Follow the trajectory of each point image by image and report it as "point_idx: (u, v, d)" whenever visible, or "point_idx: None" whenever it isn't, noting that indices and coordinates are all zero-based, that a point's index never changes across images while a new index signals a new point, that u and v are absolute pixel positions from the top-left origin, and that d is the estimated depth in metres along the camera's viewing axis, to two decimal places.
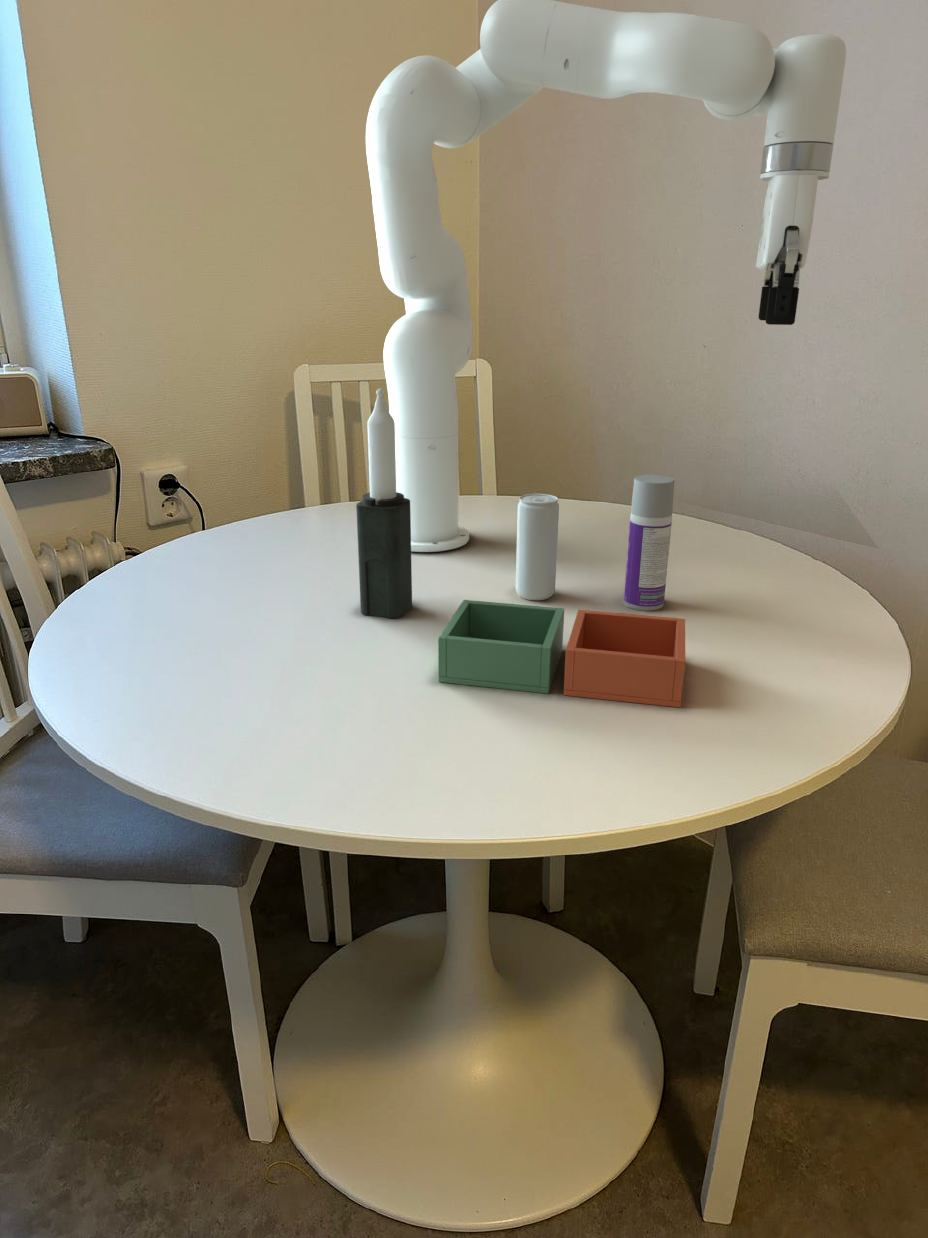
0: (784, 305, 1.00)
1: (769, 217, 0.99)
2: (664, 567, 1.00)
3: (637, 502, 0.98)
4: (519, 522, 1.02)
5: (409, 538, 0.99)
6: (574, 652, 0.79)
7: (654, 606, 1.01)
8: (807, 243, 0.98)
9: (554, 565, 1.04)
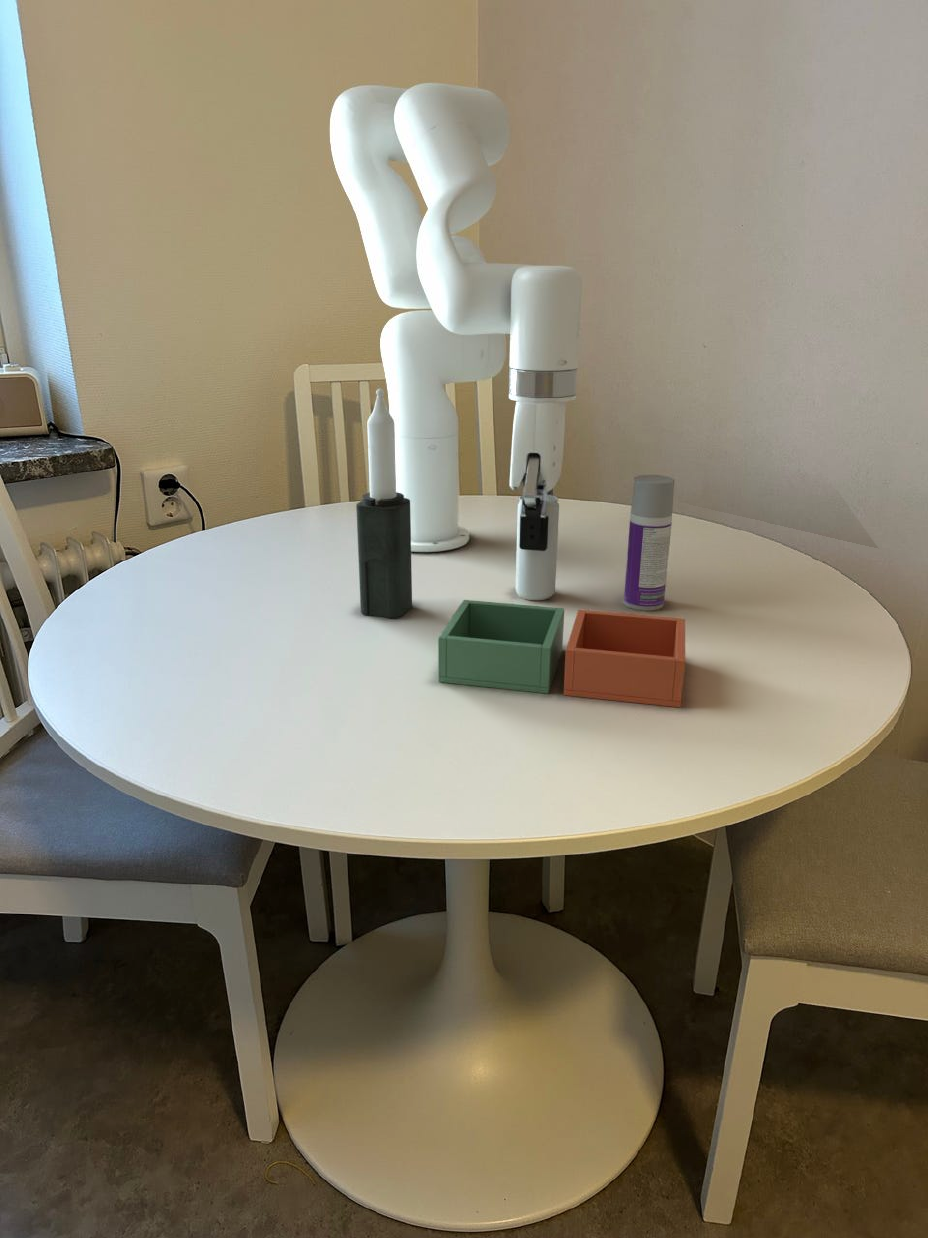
0: (534, 534, 1.00)
1: (512, 442, 0.96)
2: (664, 567, 1.00)
3: (637, 502, 0.98)
4: (519, 522, 1.02)
5: (409, 537, 0.99)
6: (574, 652, 0.79)
7: (654, 606, 1.01)
8: (550, 470, 0.95)
9: (554, 565, 1.04)
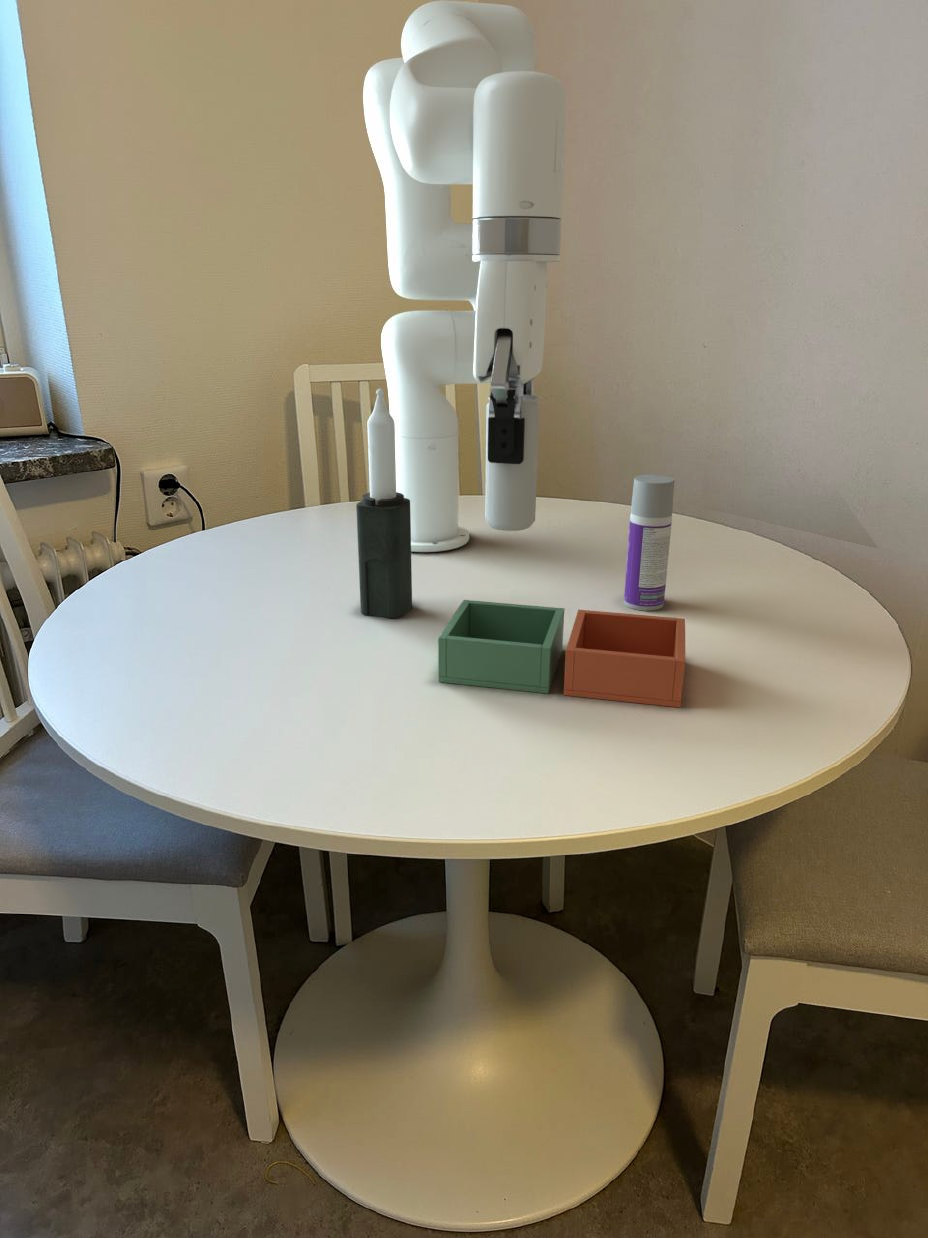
0: (506, 441, 0.77)
1: (476, 316, 0.73)
2: (664, 567, 1.00)
3: (637, 502, 0.98)
4: None
5: (409, 537, 0.99)
6: (574, 652, 0.79)
7: (654, 606, 1.01)
8: (525, 351, 0.73)
9: (534, 485, 0.81)
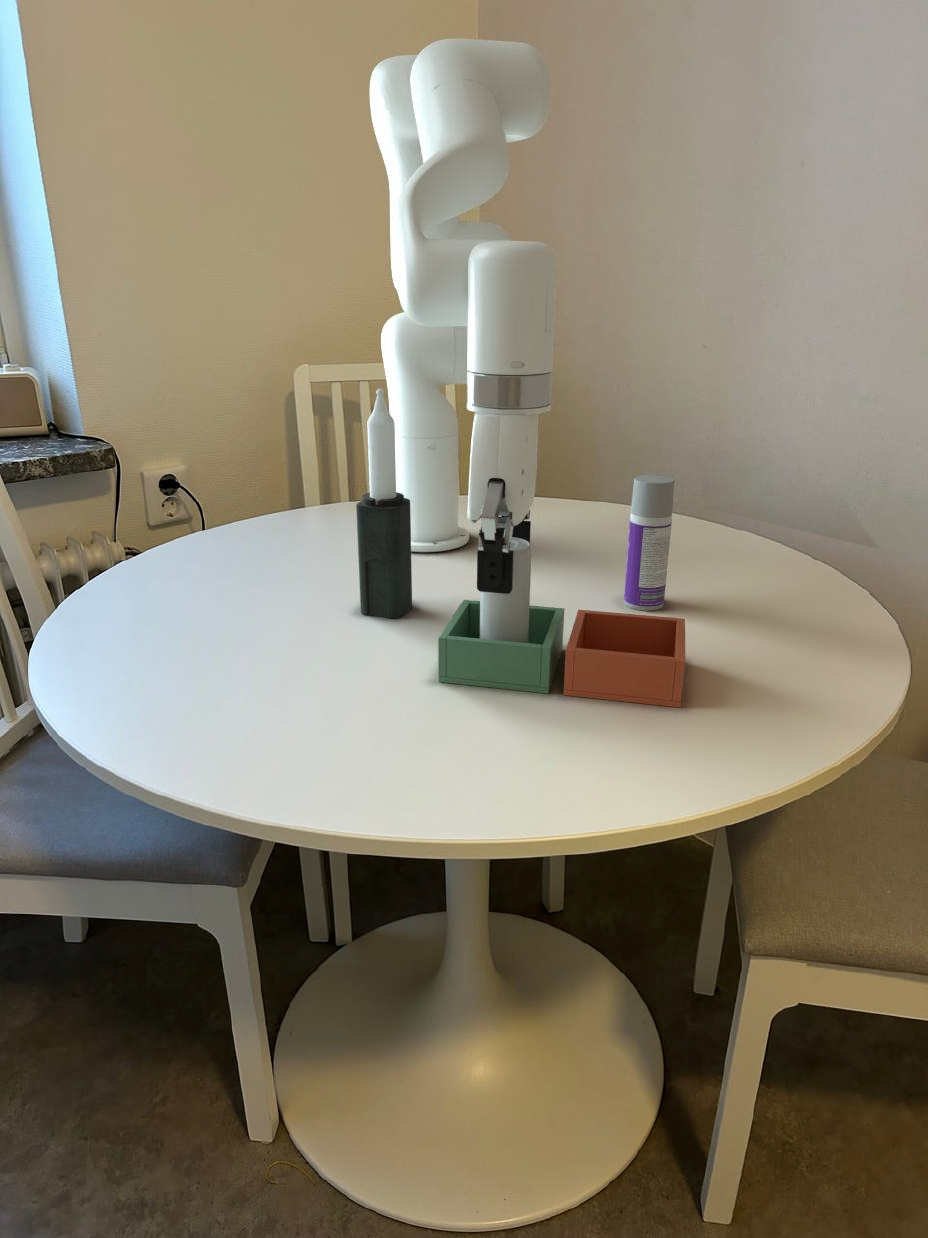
0: (494, 573, 0.78)
1: (470, 464, 0.76)
2: (664, 567, 1.00)
3: (637, 502, 0.98)
4: None
5: (409, 537, 0.99)
6: (574, 652, 0.79)
7: (654, 606, 1.01)
8: (517, 499, 0.76)
9: (526, 625, 0.85)
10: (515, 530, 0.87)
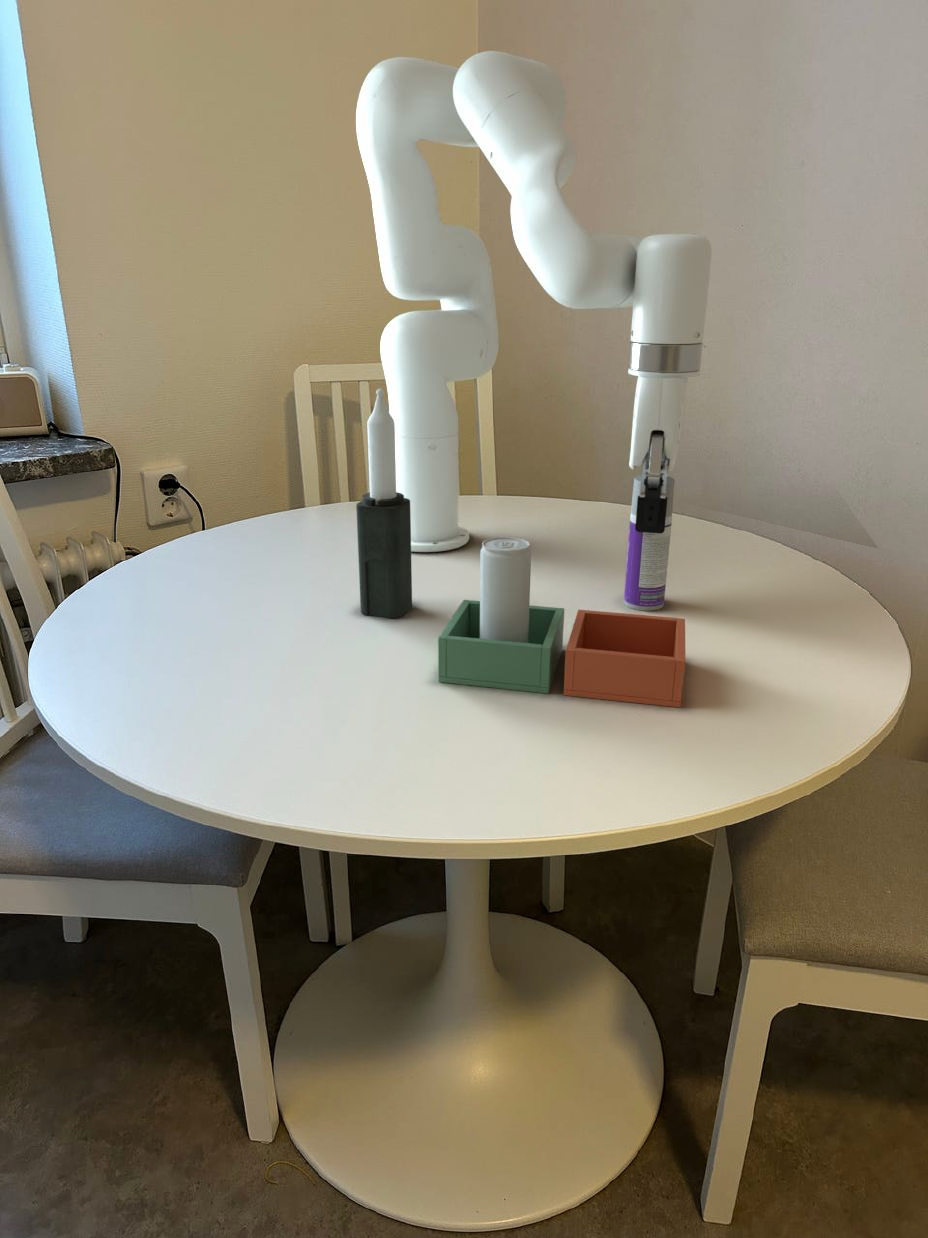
0: (652, 515, 0.96)
1: (634, 419, 0.92)
2: (664, 567, 1.00)
3: None
4: (482, 573, 0.83)
5: (409, 537, 0.99)
6: (574, 652, 0.79)
7: (654, 606, 1.01)
8: (674, 448, 0.92)
9: (526, 625, 0.85)
10: None
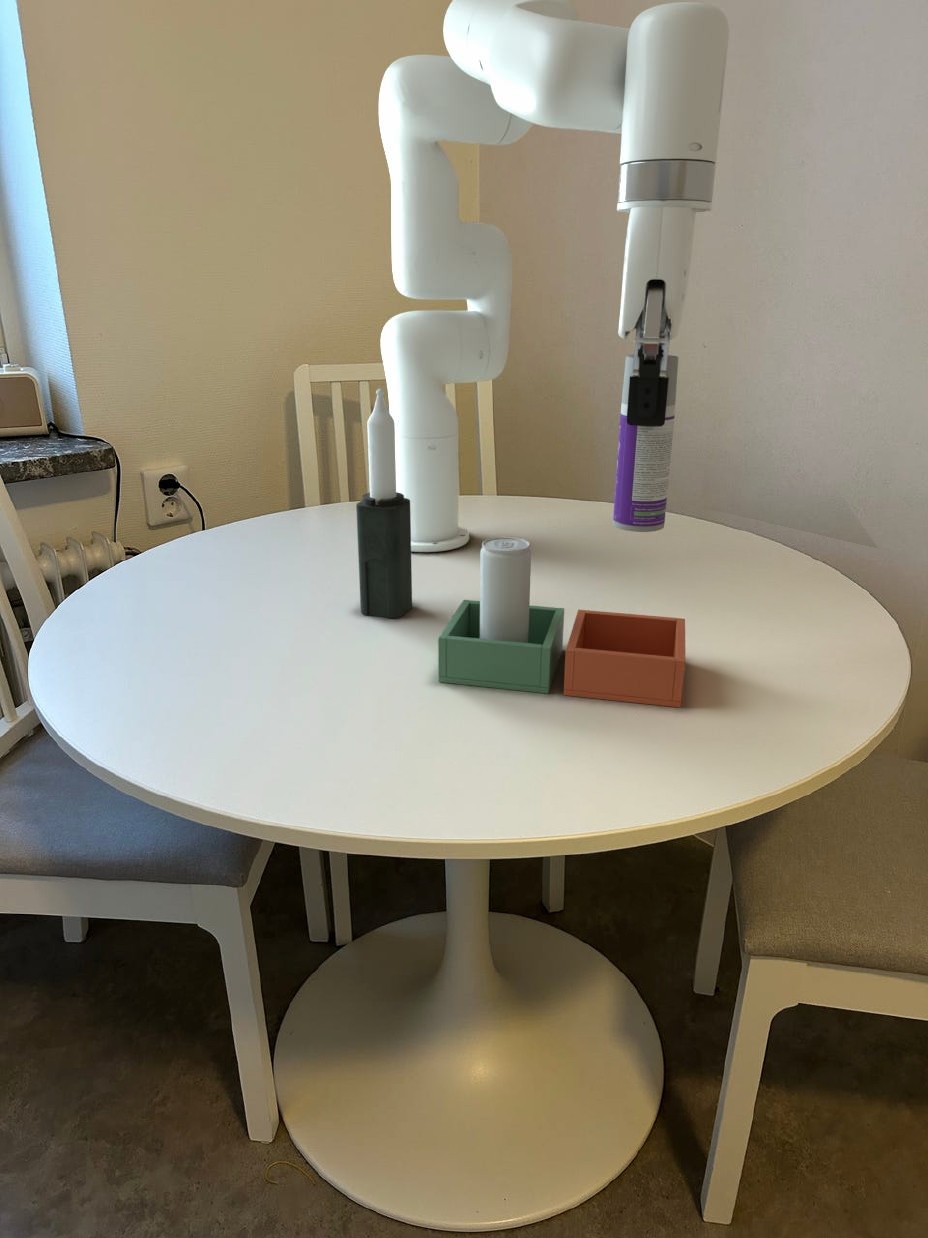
0: (649, 401, 0.73)
1: (625, 267, 0.69)
2: (665, 474, 0.77)
3: None
4: (482, 573, 0.83)
5: (409, 537, 0.99)
6: (574, 652, 0.79)
7: (652, 526, 0.79)
8: (678, 304, 0.69)
9: (526, 625, 0.85)
10: None
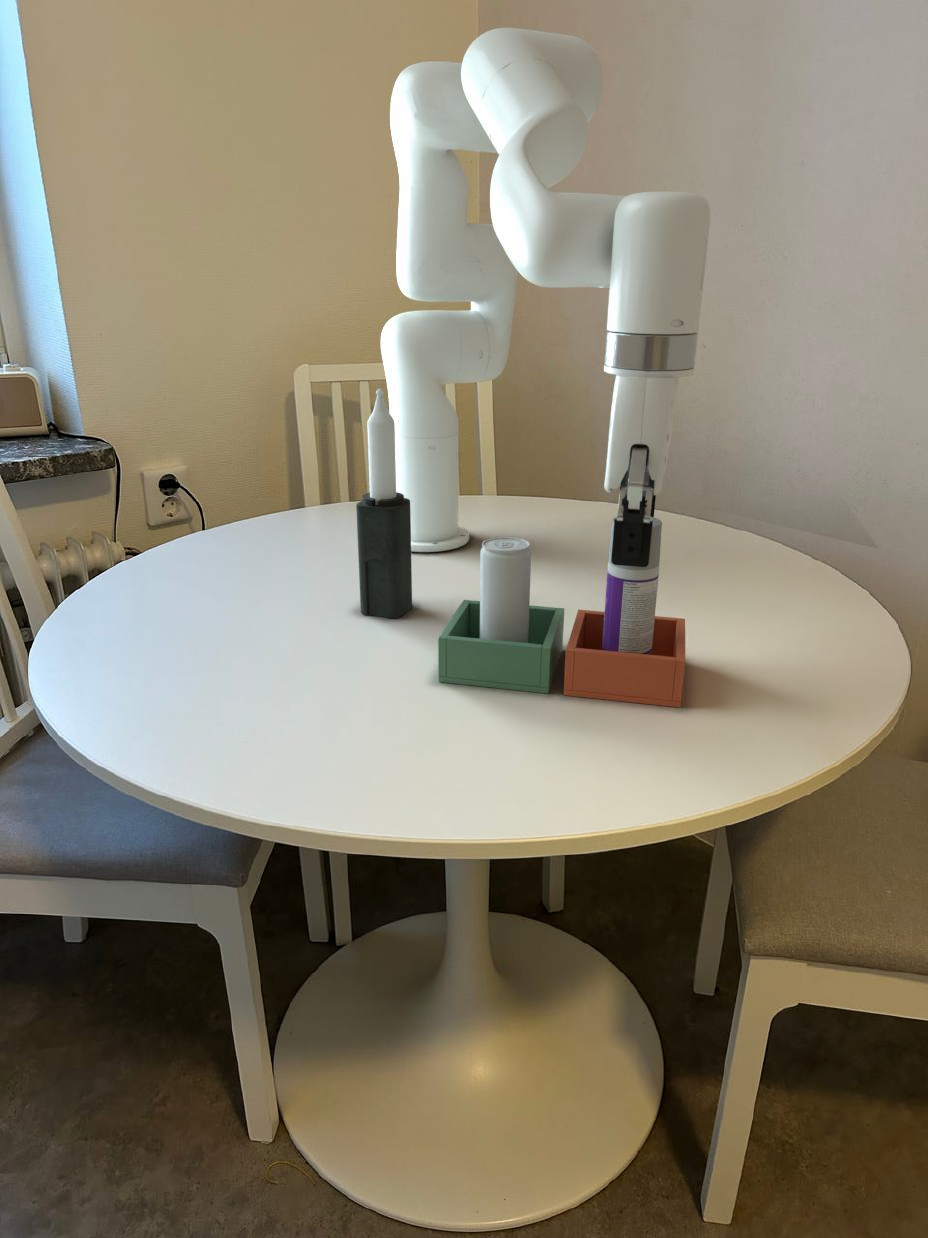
0: (633, 545, 0.74)
1: (610, 430, 0.73)
2: (649, 629, 0.81)
3: None
4: (482, 573, 0.83)
5: (409, 537, 0.99)
6: (574, 652, 0.79)
7: None
8: (661, 467, 0.72)
9: (526, 625, 0.85)
10: None
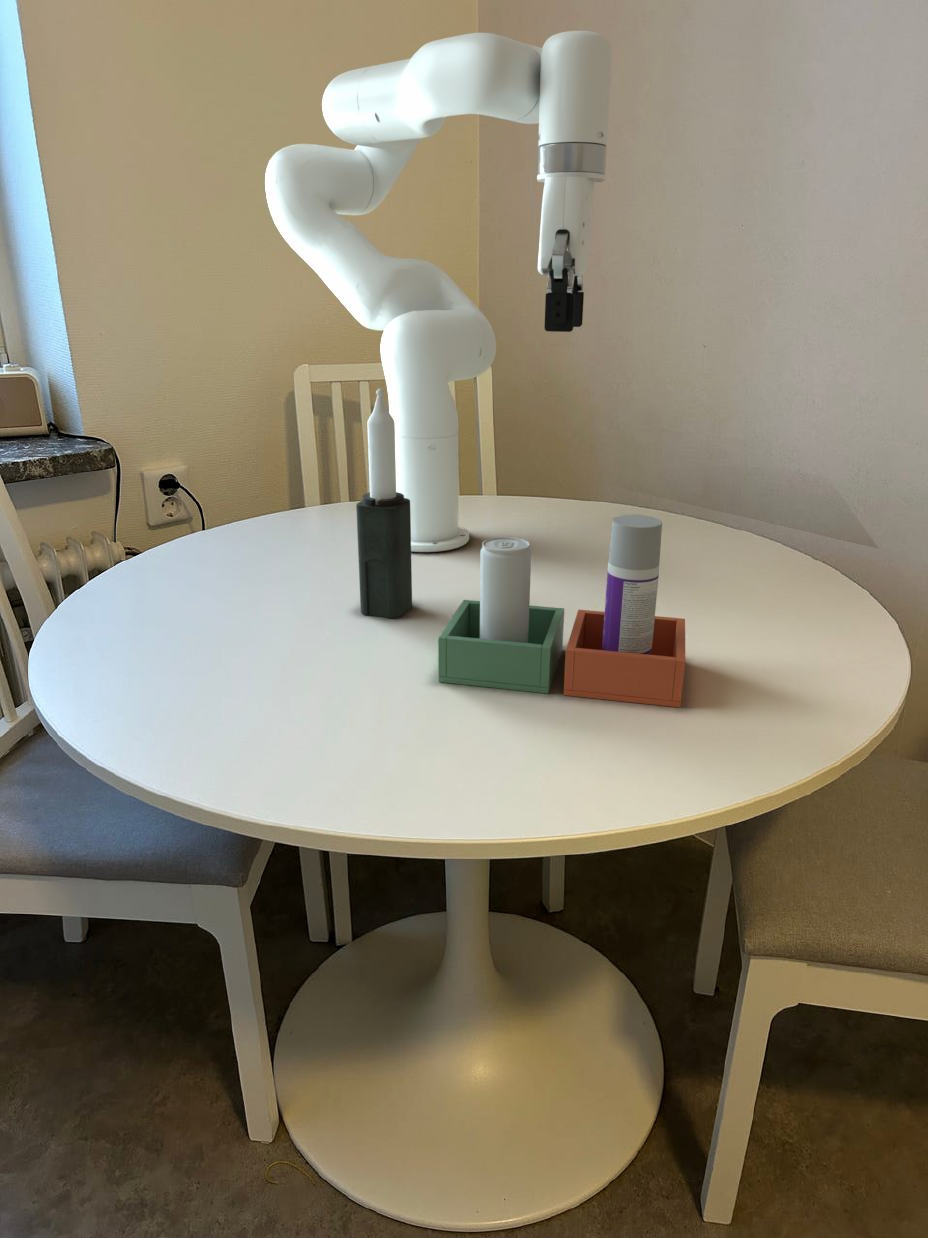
0: (559, 311, 0.97)
1: (541, 220, 0.95)
2: (649, 629, 0.81)
3: (616, 550, 0.79)
4: (482, 573, 0.83)
5: (409, 537, 0.99)
6: (574, 652, 0.79)
7: None
8: (579, 247, 0.95)
9: (526, 625, 0.85)
10: None
